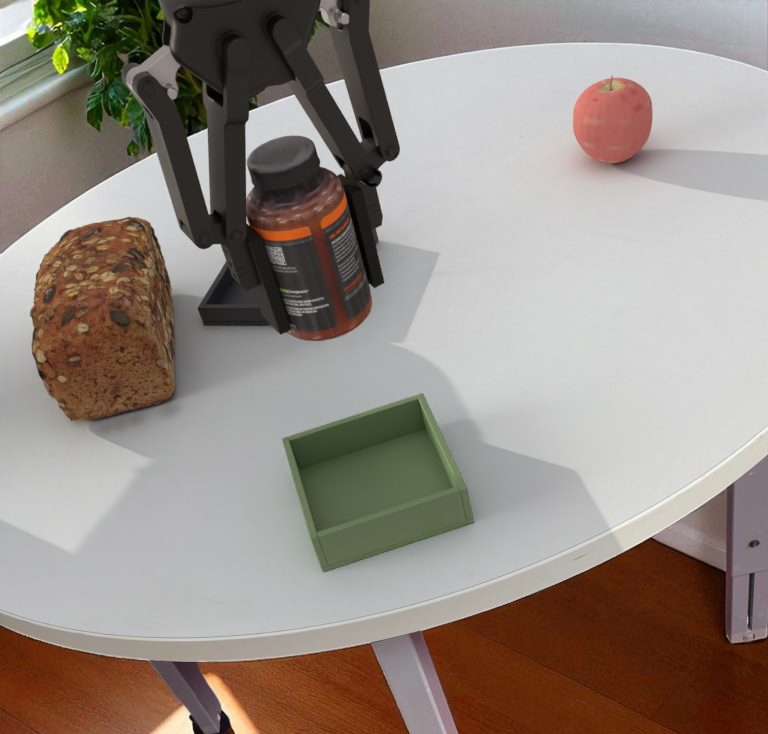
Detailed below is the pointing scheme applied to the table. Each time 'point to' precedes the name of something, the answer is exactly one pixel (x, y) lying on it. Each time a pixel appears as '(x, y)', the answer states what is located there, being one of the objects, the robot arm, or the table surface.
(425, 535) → the bin
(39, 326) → the bread
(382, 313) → the table surface
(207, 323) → the black square tray
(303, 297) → the supplement bottle
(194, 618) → the table surface
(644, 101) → the apple
